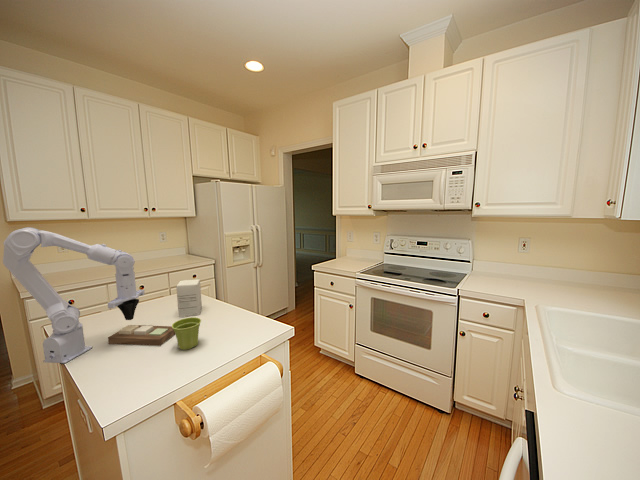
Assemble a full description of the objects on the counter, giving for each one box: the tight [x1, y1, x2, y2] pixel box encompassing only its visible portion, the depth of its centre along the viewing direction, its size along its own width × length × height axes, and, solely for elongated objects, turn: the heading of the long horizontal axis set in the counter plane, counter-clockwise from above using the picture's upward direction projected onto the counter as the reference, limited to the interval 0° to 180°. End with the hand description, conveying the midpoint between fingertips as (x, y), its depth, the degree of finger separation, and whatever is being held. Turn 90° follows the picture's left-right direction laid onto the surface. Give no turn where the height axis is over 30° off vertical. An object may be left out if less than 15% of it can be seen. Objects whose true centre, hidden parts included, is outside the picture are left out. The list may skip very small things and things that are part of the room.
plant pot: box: [171, 316, 202, 351], centre depth 92 cm, size 9×9×9 cm
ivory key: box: [134, 325, 154, 335], centre depth 98 cm, size 4×4×2 cm
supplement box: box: [175, 278, 203, 318], centre depth 121 cm, size 9×9×15 cm
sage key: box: [149, 328, 168, 336], centre depth 98 cm, size 4×4×2 cm
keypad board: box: [107, 324, 176, 347], centre depth 98 cm, size 10×20×2 cm, turn 85°
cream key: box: [118, 324, 139, 335], centre depth 99 cm, size 4×4×2 cm
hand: (129, 319), depth 98 cm, fingers closed
